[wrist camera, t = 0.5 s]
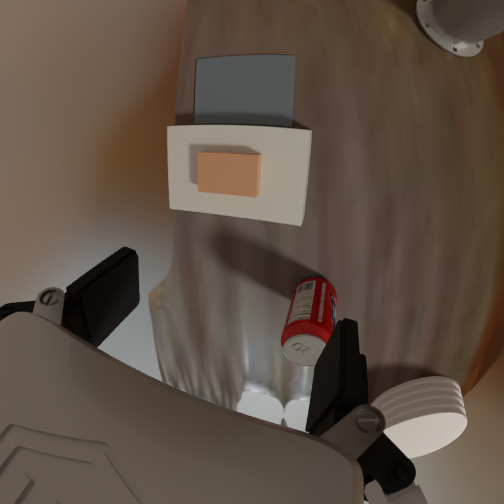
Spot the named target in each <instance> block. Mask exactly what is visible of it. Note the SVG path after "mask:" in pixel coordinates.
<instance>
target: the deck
mask: <svg viewBox="0 0 504 504" xmlns="http://www.w3.org/2000/svg"><path fill="white" fill-rule="evenodd" d="M311 138H312V130H306V129H296V128H285V127H271V126H253V125H179V126H168V127H167V148H168V149H167V151H168V180H169V201H170V208H171V209H178V210H186V211H195V212H203V213H211V214H219V215H227V216H235V217H242V218H250V219H257V220H264V221H271V222H278V223H285V224H291V225H298V226H301V225H302V221H303V218H304V211H305V202H306V193H307V183H308V173H309V162H310V151H311ZM201 151H221V152H240V153H255V154H262V159H261V179H260V195H258V196H257V197H256V198H254V197H245V196H236V195H227V194H217V193H206V192H198V152H201Z"/></svg>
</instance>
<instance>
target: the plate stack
mask: <svg viewBox="0 0 504 504" xmlns="http://www.w3.org/2000/svg"><path fill="white" fill-rule="evenodd" d="M371 406H374V407H376V408H377V409H379V410H380V411H381V412H382V414H383V415H384V418H385V421H386V426H385V429H384V431H383V432H384V433H385V434H386V435H387V436H388V438H389V439H390V440H391V441H392V442H393V443H394V444H395V445H396V446H397V447H398V448H399V449H400V450H401V451H402V452H403V453H404V454H405V455H406V456H407V457H408V458H413V457H417V456H421V455H425V454H428V453H431V452H433V451H435V450H438V449H440V448H442V447H444V446H446V445H447V444H449V443H450V442H452V441H453V440H455V439H456V438H457V437H458V436H459V435H460V434H461V433H462V432H463V431H464V429H465V428H466V425H467V418H466V413H465V408H464V403H463V400H462V394H461V390H460V386H459V384H458V383H457V382H456V381H455V380H453V379H451V378H448V377H442V376H431V377H423V378H418V379H414V380H411V381H407V382H405V383H402V384H399V385H397V386H395V387H393V388H391V389H389V390H387V391H386V392H384V393H383V394H381V395H380V396H378V397H377V398H376V399H375V400H374V401H373V402H372V404H371Z"/></svg>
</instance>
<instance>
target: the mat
mask: <svg viewBox="0 0 504 504" xmlns="http://www.w3.org/2000/svg"><path fill="white" fill-rule="evenodd" d="M295 64H296V56H294V55H240V56H224V57H212V58H202V59H197V64H196V85H195V122H194V124H213V123H220V124H258V125H275V126H288V127H292V123H293V106H294V87H295Z"/></svg>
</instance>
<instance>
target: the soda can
mask: <svg viewBox="0 0 504 504" xmlns="http://www.w3.org/2000/svg"><path fill="white" fill-rule="evenodd" d="M336 301H337V295H336V291H335V288H334V287H333V285H332V284H331V283H329V282H328V281H326V280H324V279H321V278H308V279H305V280H303V281H301V282H300V283H299V284H298V285H297V286H296V288H295V290H294V293H293V297H292V301H291V304H290V308H289V312H288V315H287V319H286V322H285V326H284V329H283V333H282V336H281V345H282V348H283V352H284V354H285V356H286V357H287V358H288V359H289V360H290V361H291V362H293V363H295V364H297V365H301V366H314V365H316V362H317V360H318V358H319V356H320V355H321V353H322V351H323V349H324V347H325V345H326V343H327V342H328V340H329V338H330V336H331V334H332V332H333V330H334V328H335V322H336Z"/></svg>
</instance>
